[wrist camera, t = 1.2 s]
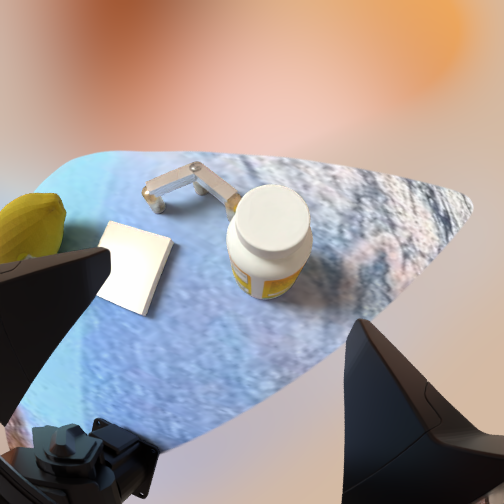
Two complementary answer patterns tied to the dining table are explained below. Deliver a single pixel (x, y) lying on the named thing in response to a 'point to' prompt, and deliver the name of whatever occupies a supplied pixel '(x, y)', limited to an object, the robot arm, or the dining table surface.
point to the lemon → (31, 227)
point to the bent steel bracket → (202, 183)
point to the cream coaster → (133, 265)
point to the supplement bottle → (269, 240)
